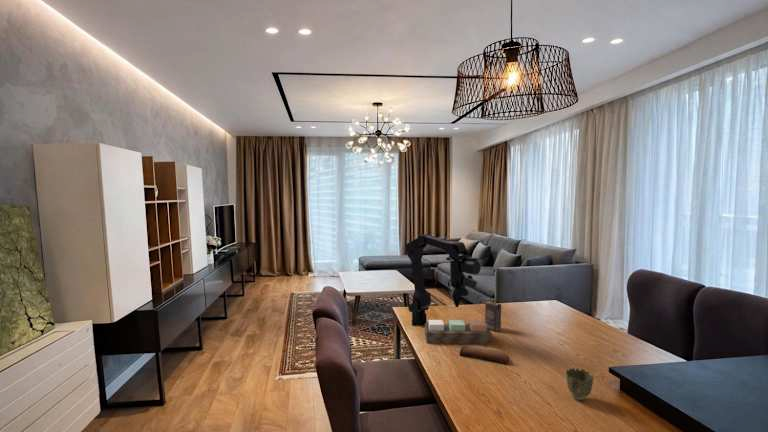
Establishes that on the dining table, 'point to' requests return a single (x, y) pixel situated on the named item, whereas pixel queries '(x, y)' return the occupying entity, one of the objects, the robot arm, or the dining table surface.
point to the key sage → (456, 325)
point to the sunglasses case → (484, 353)
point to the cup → (579, 383)
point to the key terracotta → (478, 325)
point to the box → (493, 316)
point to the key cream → (436, 325)
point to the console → (458, 336)
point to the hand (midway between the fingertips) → (456, 306)
